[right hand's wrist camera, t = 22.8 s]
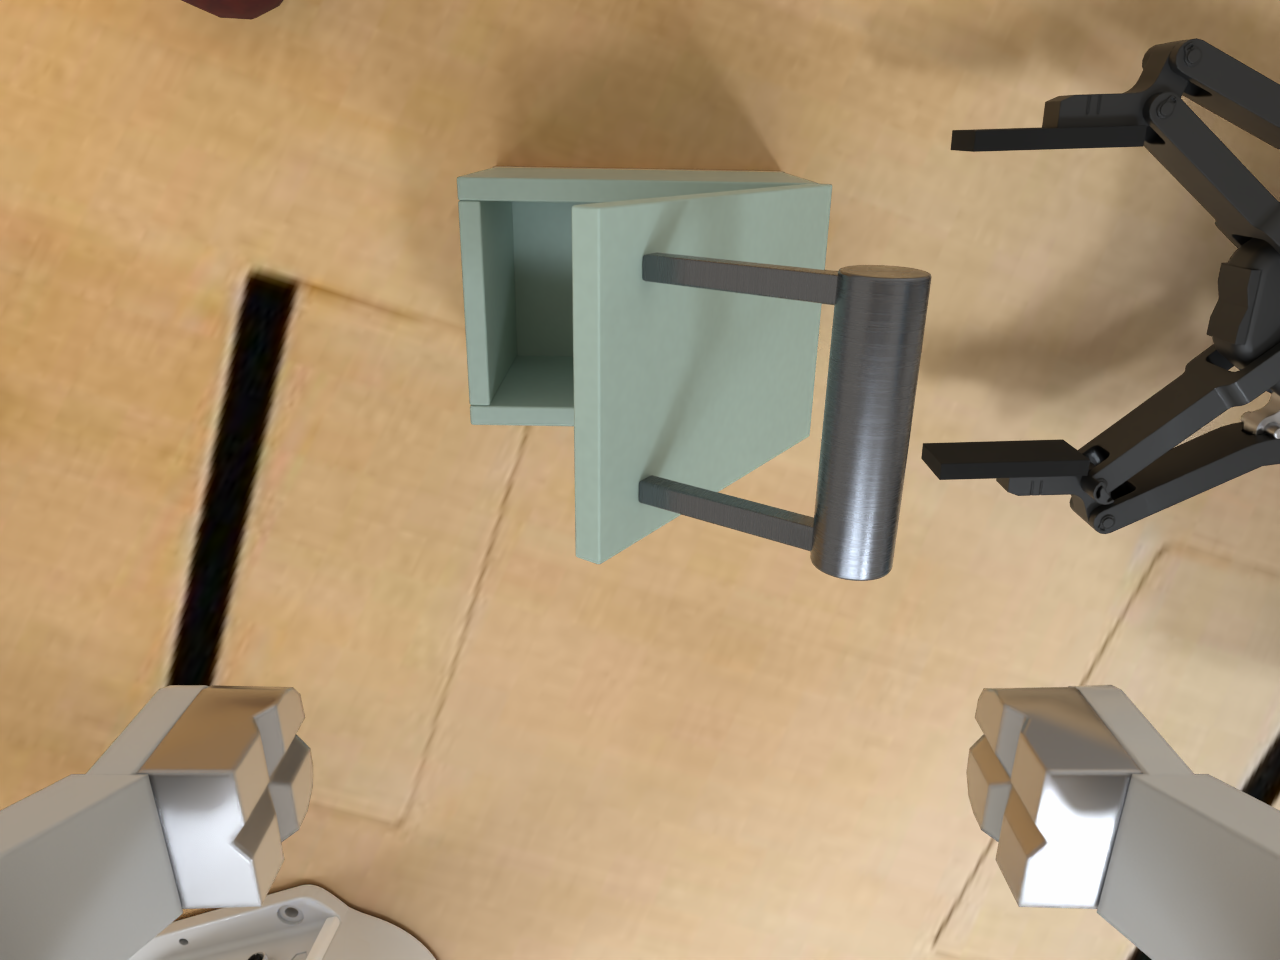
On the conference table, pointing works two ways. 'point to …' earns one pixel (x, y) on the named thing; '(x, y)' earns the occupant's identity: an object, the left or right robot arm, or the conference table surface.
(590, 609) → the conference table surface
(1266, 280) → the left robot arm
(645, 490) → the lid
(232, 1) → the potato
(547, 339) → the chest
